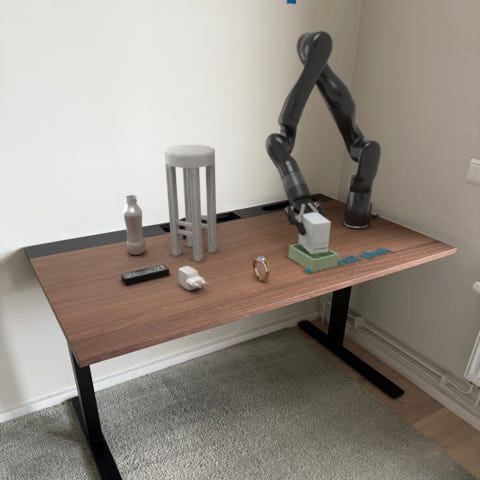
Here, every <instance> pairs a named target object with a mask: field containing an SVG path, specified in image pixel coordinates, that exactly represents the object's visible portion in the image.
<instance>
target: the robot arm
mask: <svg viewBox="0 0 480 480" xmlns="http://www.w3.org/2000/svg"><path fill="white" fill-rule="evenodd" d="M295 44H296V45H295V46H296V47H295V49H296V55H297V57H298V59H299V61H300V63H301V64H302V66H303V68H302V71H301V73H300V74H299V77H298V79H297V80H296V82H295V83H294V85H293V86H292V87H291V89H290V91H289V92H288V93H287V95H286V97H285V98H284V101H283V104H282V106H281V110H280V112H279V115H278V117H277V124H278V125H279V127H280V130H279V133H278V132H273V133H270V134H268V135H267V138H266V139H265V145H264V146H265V150H266V154H267V155H268V158H269V159H270V160H271V162H272V164H273V165H274V167H275V168H276V170H277V172H278V175H279V177H280V181H281V184H282V187H283V190H284V193H285V195H286V197H287V200H288V203H289V205H287V206H286V207H285V209H284V211H283V212H284V213H285V215H286V219H287V221H288V223H289V225H290V226H295V227H296V229H297V231H298V234H299V233H300V234H301V235H302V236H304V235H305V234H306V230H305V228H304V225H303V223H301V222H302V217H303V214H307V213H312V212H315V213H317V212H318V213H319V214H320V215H322V216H323V217H325V218H326V217H327V213H326V210H325V207H324V204H323V202H322V200H318V201H315V202H314V200H313V199H312V193H311V191H310V189H309V186H308V184H307V181H306V179H305V177H304V174H302V171H301V169H300V165H299V164H298V162H297V159H295V157H293V156H292V155H291V154H292V152H293V150H294V148H295V146H296V145H295V144H296V139H297V132H298V126H299V123H300V121H301V118H302V116H303V113H304V110H305V108H306V105H307V102H308V100H309V99H310V95H311V94H312V92H313V90H314V88H315V87H316V89H317V91H318V93H319V95H320V97H321V99H322V100H323V103H324V105H325V107H326V109H327V111H328V113H329V115H330V117H331V119H332V120H333V122H334V125H335V126H336V128H337V130H338V132H339V133H340V135H341V138H342V140H343V143H344V145H345V148H346V151H347V153H348V157H350V159H351V160H352V161H353V162H354V163H357V169H356V172H352V173H350V175H349V179H348V189H347V198H346V205H345V212H344V221H343V225H344V226H345V227H346V228H349V229H354V230H355V229H356V230H362V229H366V228H367V227H368V226H370V224H371V218H377V217H379V216H380V214H379V213H377V214H373V213H372V209H373V201H372V198H373V197H372V196H373V189H374V183H375V182H374V181H375V179H376V178H377V175H378V172H379V166H380V163H381V162H380V161H381V156H382V146H381V144H380V143H379V142H378V141H377V140H374V139H371V138H368V137H366V136H365V134H364V133H363V131H362V129H361V128H360V126H359V123H358V107H357V103H356V101H355V98H354V96H353V94H352V92H351V89H350V88H349V86H348V85H347V83H345V82H344V80H343V79H342V78H341V77H340V76H339V75H338V74H337V73H336V72H335V71H334V70H333V68H332V67H331V65H330V64H329V62H328V61H329V59H330V58H331V55H332V53H333V48H334V41H333V37H332V36H331V34H330V33H329V32H328V31H326V30H312V31H311V30H310V31H305V32H303V33H302V34H300V35H299V37H298V38H297V41H296V43H295ZM294 213H295V214H294Z"/></svg>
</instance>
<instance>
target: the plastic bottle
mask: <svg viewBox="0 0 480 480" xmlns="http://www.w3.org/2000/svg"><path fill="white" fill-rule="evenodd" d="M124 199H125V206H124V207H123V210H122V216H123V221H124V224H125V228H126V249H127V252H128V253H129V254H130V255H141V254H144V253H145V252H146V250H147V244H146V240H145V236H144V231H143V211H142V208H141V207H140V205H139V204H138V200H137V195H134V194H130V195H129V194H128V195H125V196H124Z"/></svg>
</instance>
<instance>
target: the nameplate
mask: <svg viewBox="0 0 480 480" xmlns="http://www.w3.org/2000/svg"><path fill="white" fill-rule="evenodd" d="M392 252H393V251H392V249H389V248H386V247H385V248H384V247H380V248H379V249H377V250H374V251H369V252H367V251H364V252H363V254H359V255H358V256H359V257H358V258H357V255H355V254H351V255H349V256H348V255H347V256H345V258H340V260H339V259H338V266H343V265H344V264H345V265H347V264H352V263H355V262H359V261H361V260H362V258H364V259H368V260H372V258H373V257H376V256H380V255H384V254H386V253H392ZM332 268H334V267H332ZM332 268H330V267H329V268H328V269H327V270H329V269H332ZM324 270H325V269H324V268H323V270H322V271H324ZM304 272H305V273H307V274H308V275H309V274H312V273H314V272H313V271H312V270H311V269H309V268H305V269H304ZM316 272H320V271H319V269H318V270H317V271H316Z"/></svg>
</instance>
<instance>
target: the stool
mask: <svg viewBox="0 0 480 480" xmlns="http://www.w3.org/2000/svg"><path fill="white" fill-rule="evenodd" d="M164 163H165V164H164V165H165V166H164V167H165V177H166V191H167V205H168V218H169V219H168V220H169V231H170V244H171V245H170V246H171V255H172V256H176V257H178V256H180V255H181V254H182V248H181V247H182V246H181V235H182V236H183V235H187V238H186V247H189V248H192V253H193V254H192V255H193V261H195V262H201V261H202V260H203V259H204V257H203V255H204V254H203V230H202V229H207V252H209V253H215V252H217V251H218V240H217V239H218V235H217V233H218V232H217V227H216V226H217V193H216V192H217V191H216V187H217V186H216V150H215V148H214V147H211V146H209V145H202V144H180V145H172V146H170V147H167V148H166V149H165V150H164ZM203 167H205V192H206V195H205V196H206V215H205V214H202V204H201V203H202V202H201V201H202V200H201V179H200V178H201V176H200V168H203ZM176 168H180V169H182V179H183V180H182V181H183V182H182V183H183V197H184V215H185V217H184V218H186V222H184V221H179V220H180V216H179V215H180V213H179V201H178V199H179V198H178V183H177V169H176ZM201 219H204V220H207V224H206V223H204V222H202V221H201ZM180 226H181V227H185V226H186V231H185V230H184V229H180Z"/></svg>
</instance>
